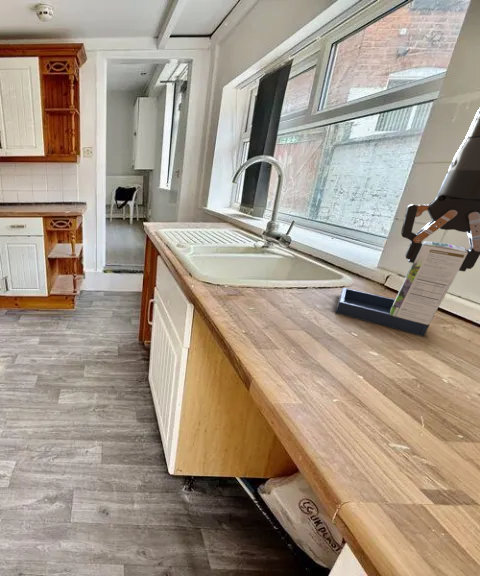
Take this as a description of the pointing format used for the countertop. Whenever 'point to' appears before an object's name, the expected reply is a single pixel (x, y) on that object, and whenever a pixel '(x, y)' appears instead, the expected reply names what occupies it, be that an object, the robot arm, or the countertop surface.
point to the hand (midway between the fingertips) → (434, 265)
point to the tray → (375, 311)
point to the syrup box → (428, 281)
